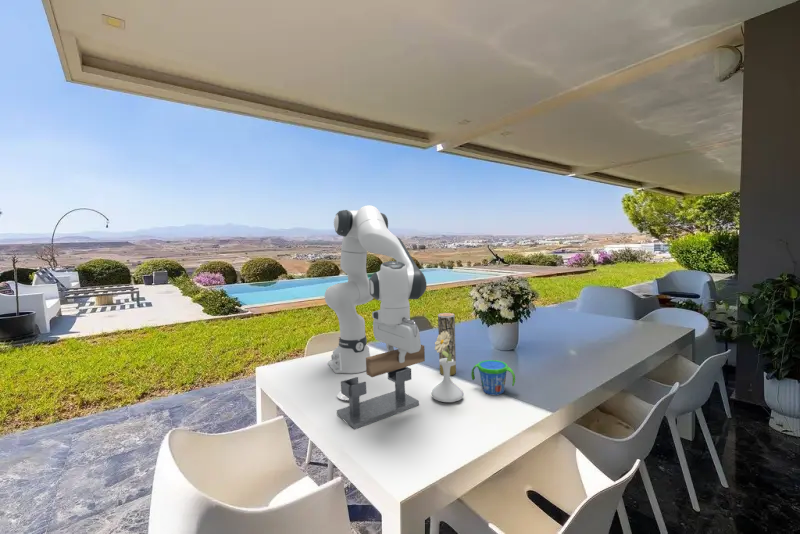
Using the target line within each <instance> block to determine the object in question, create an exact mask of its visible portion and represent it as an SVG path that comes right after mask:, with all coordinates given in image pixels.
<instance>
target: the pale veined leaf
mask: <svg viewBox="0 0 800 534" xmlns="http://www.w3.org/2000/svg"><path fill="white" fill-rule="evenodd" d="M341 396H343V394H342V393H341V390H340V391H339V393H337V398H338V399H340V400H343V401H345V400H344V399H345V398H343V397H344V396H343V397H342V398H343V399H342V398H341Z"/></svg>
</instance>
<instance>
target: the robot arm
mask: <svg viewBox="0 0 800 534" xmlns="http://www.w3.org/2000/svg"><path fill="white" fill-rule="evenodd" d="M333 228H334V230H335V233H336V234H337V235H338V236H341V237H342V241H341V249H340V250H341V252H340V262H339V263H340V264H339V265H340V269H341V270H342V271H343V272H344V273H345V274H346V275H347V281H345V282H340V283H335V284H333V285H331V286H329V287H326V288H327V289H325V292H324V301H325V303H326V305H327V306H328V307H329V308H330V309H331V310H332V311H334V313H335V314H336V316H337V318H338V319H337V320H338V325H339V333H340V334H339V337H338V345H337V347H336V348H335V349H334V350H333V351H332V354H331V356H330V357H331V360H328V361H327V365H328V364H329V365H330V366H329V365H328V366H329V367H330V369H331V370H332V369H333V370H332V371H333V372H334V373H335V374H359V373H363V372H366V357H370V356H371V355H370V353H371V352H370V347H369V346H368V345H367V343H368V341H367V335H366V321H365V319H364V317H363V316H362V315H360V314H359V313H358V312H357V309H356V307H357V306H360V305H365V304H367V303H370V302H371V301H373V300H374V299H375V300H377V301H380V309H378V310H375V311H372V313H371V314H372V315H371V317H372V319H373V322H372V326H373V327H372V328H373V329H372V330H373V336H374V339H375V340H376V341H378V342H381V343H383V344H385V347H386V349H387V352H389V351H393V350H395V349H394V348H396V349H399V352H400V354H399V356H397V361H398V362H400V363H403V362H404V361H405V355H406V353H407V352H408V353H415V352H419V351H420V349H421V345H422V344H421V335H420V330H419V327H418V325H417V324H416V322H415V320H413V319H411V311H410V309H411V308H410V306H411V305H410V301H409V300H419V299H420V298H421V297H422V296H423V295H424V294H425V292H426V291H427V279H426V276H425V275H424V273H423V272H422V270H421V269H420V268H419V266H417V264H416V263H415V261H414V259H413V257H412V255H411V253H410V252H409V250H408V249H407V247H406V246H405V244H404V242H403V240H402V239H401V238H400V237H398V236H396V235H395V234H394V233H393V232H391V231H390V230H389V220H388V217H387V215H386V214H385V213H382V212H380V210H379V209H378V208H377V207H376V206H373V205H370V204H369V205H364V206H361V207H360V208H359V209H358V210H353V209H351V210H348V209H343V210H339V211H337V213H336V214H335V216H334V219H333ZM368 252H370V253H372V254H376V255H377V254H378V255H382V256H387V257H389V258H392V259H394V260H390V261H384V262H383V263H381V264H380V270H378V271H375V272H373V274H372V275H371V276H370V278H369V276H368V273H367V255H368V254H367V253H368Z"/></svg>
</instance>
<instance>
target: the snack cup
mask: <svg viewBox="0 0 800 534" xmlns="http://www.w3.org/2000/svg"><path fill="white" fill-rule="evenodd" d="M476 368H477V370H478V372H479V377H480V383H481V388H482V391H483V392H484V393H485V394H486V395H491V396H499V395H501V394H504V391H505V385H506V380H507V379H506V377H507V372H510V374H511V377H512V383H511V384H512V387H514V385H515V383H516V375H515V372H514V370H513V369H512V368H511V367H510V366H508V364H507V363H506V362H504V361H501V360H496V359H490V360H489V359H488V360H482V361H479V362H478V363H476V364H475V365H474V366H473V367H472V369H471V373H470V375H471V380H472V381H474V380H475V378H476V377H475V371H474V370H475V369H476Z"/></svg>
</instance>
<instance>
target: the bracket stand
mask: <svg viewBox="0 0 800 534" xmlns="http://www.w3.org/2000/svg"><path fill="white" fill-rule="evenodd" d="M387 379H388V380H389V381H391V382H392V383H394V391H391V392H388V393H385V394H382V395H379V396H376V397H372V398H370V399H366V400H364V401H361V402H360V397H361V396H364V395H367V382H366V381H361V382H359V376H357V377H353V378H348V379H345V380H341V381H340V391H341V393H342V394H343V395H345V396H344V397H346V398H347V399H348V401H349V402H348V403H349V405H348V406H346V407H343V408H339V409H337V410H336V415H337V414H338V415H339V416H340V417H341V418H340V417H339V416H338V415H337V416H338V417H339V418H340V419H341V420H343V419H344V420H345V421H346V422H347V423H348V424H347V423H346V422H345V421H344V420H343V421H344V422H345V423H346V424H347V425H349V426H350V427H351V426H352V427H353V428H354V430H357V429H359V428H361V427H364V426H367V425H369V424H370V425H371V424H372V423H375V422H377V421H378V422H379V421H381V420H383V419H386V418H388V417H391V416H393V415H396V414H398V413H402V412H404V411H407V410H409V409H412V408H415V407H418V406H420V400H418V399H416V398H415V397H413V396H411V395H409V394H407V393H406V387H405V386H406V384H405V382H408V381H411V380H412V368H410V367H409V366H407V367H404V368H401V369H398V370H394V371H391V372H388V373H387ZM352 427H351V428H352ZM353 428H352V429H353ZM356 428H357V429H356Z"/></svg>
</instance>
